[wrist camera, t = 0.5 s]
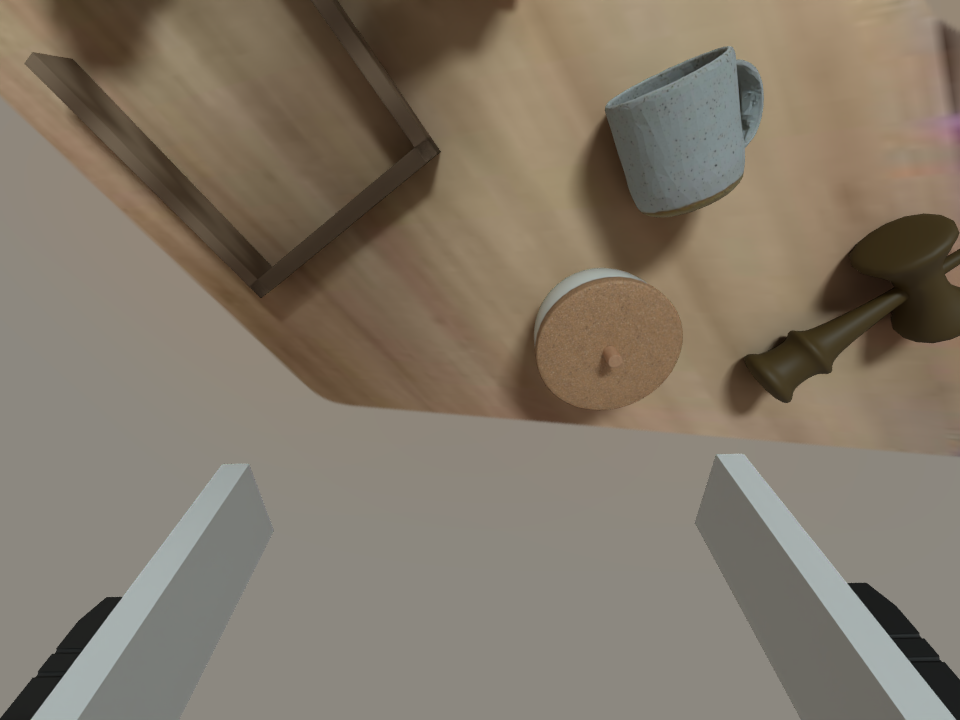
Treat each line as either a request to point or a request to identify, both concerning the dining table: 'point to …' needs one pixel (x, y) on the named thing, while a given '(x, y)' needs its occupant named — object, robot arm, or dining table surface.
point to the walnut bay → (191, 202)
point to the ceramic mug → (687, 132)
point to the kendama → (877, 302)
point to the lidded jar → (605, 339)
